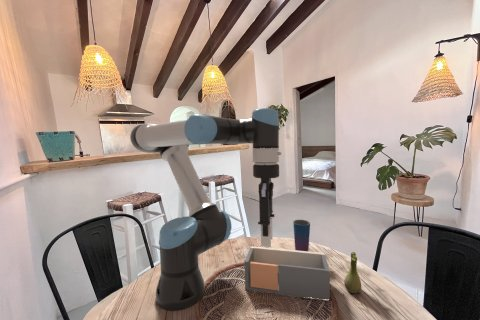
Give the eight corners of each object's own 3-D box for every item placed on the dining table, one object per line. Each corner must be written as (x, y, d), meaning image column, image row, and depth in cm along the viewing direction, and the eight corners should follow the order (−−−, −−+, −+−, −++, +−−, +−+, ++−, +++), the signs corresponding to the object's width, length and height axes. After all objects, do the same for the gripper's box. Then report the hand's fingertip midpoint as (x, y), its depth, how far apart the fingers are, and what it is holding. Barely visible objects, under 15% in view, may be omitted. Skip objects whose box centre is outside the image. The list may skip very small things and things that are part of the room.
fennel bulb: (355, 298, 65) (356, 260, 64) (340, 289, 69) (340, 253, 68) (364, 290, 68) (365, 254, 68) (349, 282, 72) (349, 248, 72)
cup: (311, 262, 86) (311, 225, 85) (293, 260, 87) (293, 224, 86) (309, 253, 92) (309, 219, 91) (293, 252, 94) (292, 219, 93)
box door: (250, 286, 69) (250, 263, 69) (251, 285, 70) (250, 261, 70) (277, 290, 67) (277, 266, 67) (277, 288, 68) (277, 264, 68)
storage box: (245, 289, 70) (244, 261, 69) (251, 270, 81) (250, 246, 80) (329, 301, 64) (329, 271, 63) (324, 279, 74) (324, 253, 74)
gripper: (277, 166, 52) (277, 258, 54) (280, 161, 69) (281, 231, 70) (247, 166, 54) (248, 255, 55) (257, 161, 71) (258, 230, 72)
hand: (266, 242), depth 63 cm, fingers open, 4 cm apart
